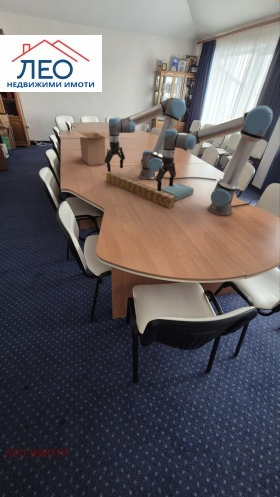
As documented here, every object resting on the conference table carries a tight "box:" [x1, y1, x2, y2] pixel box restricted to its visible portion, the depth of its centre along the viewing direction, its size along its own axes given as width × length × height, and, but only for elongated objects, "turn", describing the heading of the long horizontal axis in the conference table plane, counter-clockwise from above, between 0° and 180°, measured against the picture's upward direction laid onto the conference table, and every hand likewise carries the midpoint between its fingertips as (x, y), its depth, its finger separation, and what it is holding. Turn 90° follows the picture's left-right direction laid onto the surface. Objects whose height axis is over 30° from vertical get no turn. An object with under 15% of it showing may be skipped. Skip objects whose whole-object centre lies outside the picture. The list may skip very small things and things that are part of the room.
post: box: [105, 171, 175, 209], centre depth 172 cm, size 67×5×8 cm, turn 48°
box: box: [70, 129, 109, 166], centre depth 229 cm, size 44×36×27 cm
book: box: [161, 182, 194, 202], centre depth 175 cm, size 23×16×5 cm
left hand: (115, 169), depth 181 cm, fingers open, 13 cm apart
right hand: (165, 188), depth 155 cm, fingers open, 13 cm apart
